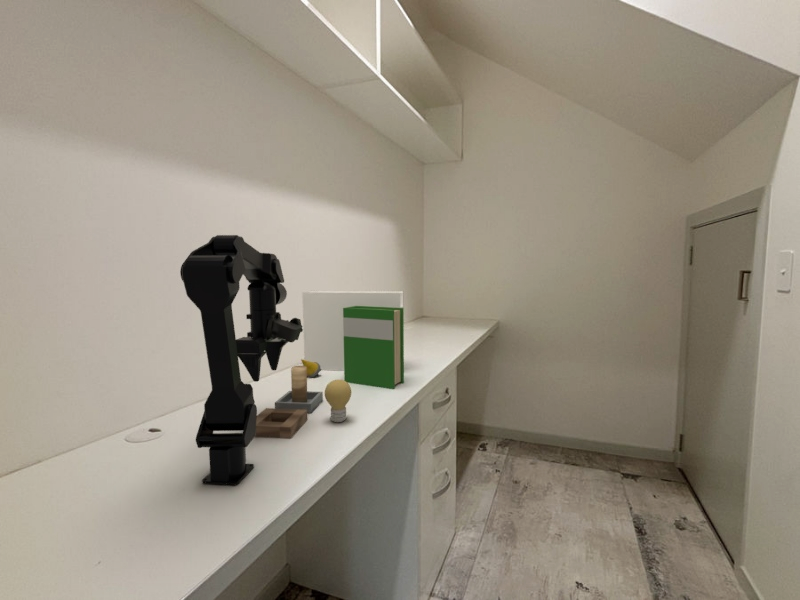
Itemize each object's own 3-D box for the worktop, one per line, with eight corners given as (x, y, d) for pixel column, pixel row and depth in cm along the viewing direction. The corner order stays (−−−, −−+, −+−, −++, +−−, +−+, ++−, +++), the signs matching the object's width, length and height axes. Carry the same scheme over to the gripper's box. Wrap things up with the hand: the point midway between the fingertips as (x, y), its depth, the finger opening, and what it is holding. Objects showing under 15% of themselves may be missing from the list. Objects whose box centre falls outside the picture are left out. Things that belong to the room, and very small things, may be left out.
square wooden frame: (290, 438, 86) (290, 427, 86) (245, 436, 87) (244, 425, 87) (307, 419, 97) (307, 409, 96) (266, 418, 98) (266, 408, 98)
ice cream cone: (324, 378, 134) (307, 362, 127) (311, 383, 135) (293, 368, 128) (325, 365, 138) (308, 349, 131) (312, 371, 139) (294, 356, 132)
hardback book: (403, 382, 126) (403, 307, 124) (393, 389, 120) (392, 310, 117) (356, 376, 134) (355, 305, 132) (344, 382, 127) (343, 308, 125)
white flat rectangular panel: (304, 369, 143) (302, 292, 140) (313, 364, 151) (311, 290, 148) (400, 373, 137) (399, 292, 134) (403, 367, 145) (403, 291, 142)
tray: (311, 413, 101) (310, 403, 100) (275, 412, 102) (274, 402, 101) (322, 400, 110) (322, 391, 110) (289, 399, 111) (289, 390, 111)
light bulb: (350, 425, 93) (350, 383, 92) (323, 426, 93) (322, 384, 92) (352, 415, 99) (352, 376, 98) (327, 415, 99) (326, 376, 98)
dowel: (304, 407, 104) (303, 369, 103) (289, 406, 104) (288, 369, 103) (309, 402, 108) (308, 365, 107) (295, 401, 108) (294, 365, 107)
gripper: (280, 314, 81) (282, 389, 82) (310, 305, 99) (312, 366, 101) (228, 314, 82) (231, 387, 83) (268, 304, 100) (270, 365, 102)
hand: (265, 375), depth 92 cm, fingers open, 9 cm apart
